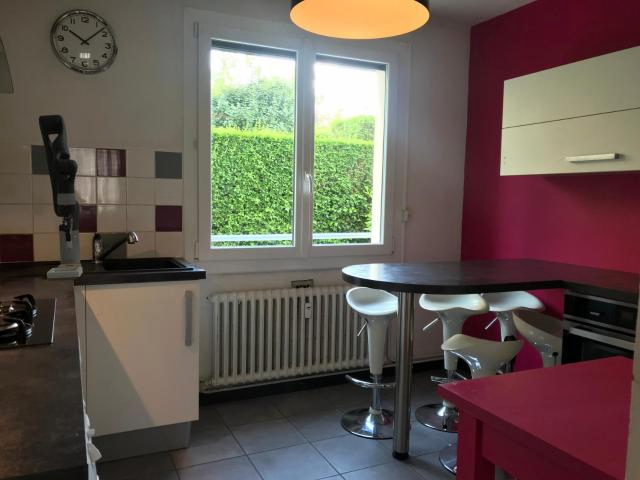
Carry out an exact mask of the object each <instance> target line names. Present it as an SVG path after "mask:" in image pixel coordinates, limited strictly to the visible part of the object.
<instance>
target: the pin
mask: <svg viewBox="0 0 640 480" xmlns="http://www.w3.org/2000/svg"><path fill="white" fill-rule="evenodd" d="M66 230H69V229H68V228H67V229H66ZM66 249H67V251H71V250H72V235H71V241H69V242H66Z"/></svg>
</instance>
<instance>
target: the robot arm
mask: <svg viewBox="0 0 640 480" xmlns="http://www.w3.org/2000/svg"><path fill="white" fill-rule="evenodd" d="M38 125H39V126H38V127H39V130H40V135H41V138H42V143H43V147H44V150H45V151H44V152H45V157H46V159H45V160H46V165H47V169H48V175H49V180H50V184H51V193H52V201H53V205H52V206H53V211H54V214H55V215H56V217H58V218H62V219H61V220H62V224H59V226H58V238H59V258H60V259H59V260H60V261H59V262H60V265H61V264H81V252H80V250H81V249H80V248H81V247H80V231H79V229H80V228H79V227H80V204H79V201H78V200H77V198H76V192H75V181H76V176H77V173H78V168H79V165H78V163H77V161H76V160H74V159H71V153H70V150H69V146H68V139H67V138H68V137H67V130H66V129H67V128H66V123H65V119H64V118H63V116H62V115H60V114H45V115H40V116H39V117H38ZM52 135H57V136H56V137H55V139H54V140H53V141H52V140H51V138H50V136H52ZM67 228H68V229H69V230H66V229H67ZM71 235H72V250H71V251H67V249H66V242H69V241H71Z"/></svg>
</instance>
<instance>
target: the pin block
mask: <svg viewBox="0 0 640 480" xmlns="http://www.w3.org/2000/svg"><path fill="white" fill-rule="evenodd" d="M70 267H82V263H79V264H61V263H60V264H59V265H57V267H56V268H70Z"/></svg>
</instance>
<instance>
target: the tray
mask: <svg viewBox="0 0 640 480" xmlns="http://www.w3.org/2000/svg"><path fill="white" fill-rule="evenodd" d="M81 275H83V266H81V267H70V268H57V267H53V268H51V269H50V270H48V271H47V272H46V280H47V281H48V282H51V281H52V282H53V281H75V280H80V279H81ZM47 281H46V282H47Z"/></svg>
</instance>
